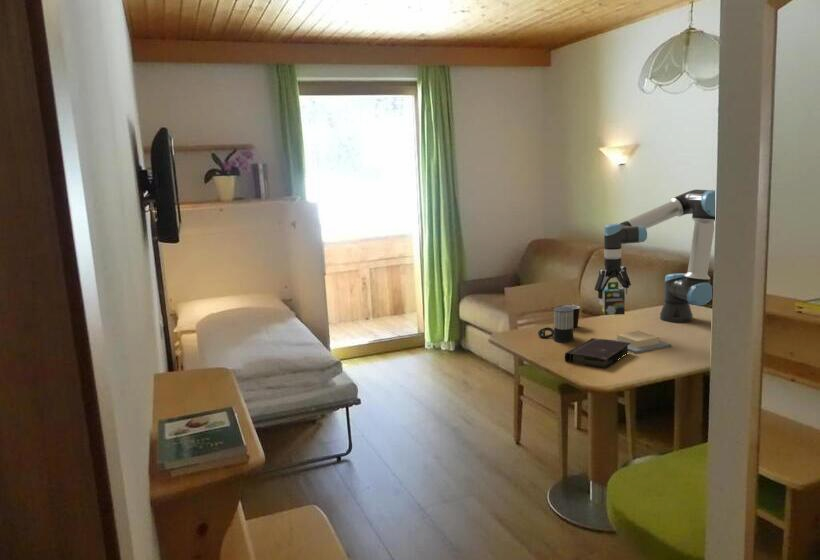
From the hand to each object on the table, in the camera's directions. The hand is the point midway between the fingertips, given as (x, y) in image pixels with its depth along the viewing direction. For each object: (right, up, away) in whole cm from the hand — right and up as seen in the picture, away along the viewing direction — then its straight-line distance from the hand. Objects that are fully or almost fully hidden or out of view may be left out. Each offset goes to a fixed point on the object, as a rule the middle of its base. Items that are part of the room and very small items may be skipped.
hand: (612, 303), depth 284 cm
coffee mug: (-15, -12, +18) cm, 26 cm away
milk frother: (-27, -17, -2) cm, 32 cm away
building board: (+5, -18, -17) cm, 25 cm away
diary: (-16, -22, -31) cm, 41 cm away
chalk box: (0, -5, +1) cm, 5 cm away
